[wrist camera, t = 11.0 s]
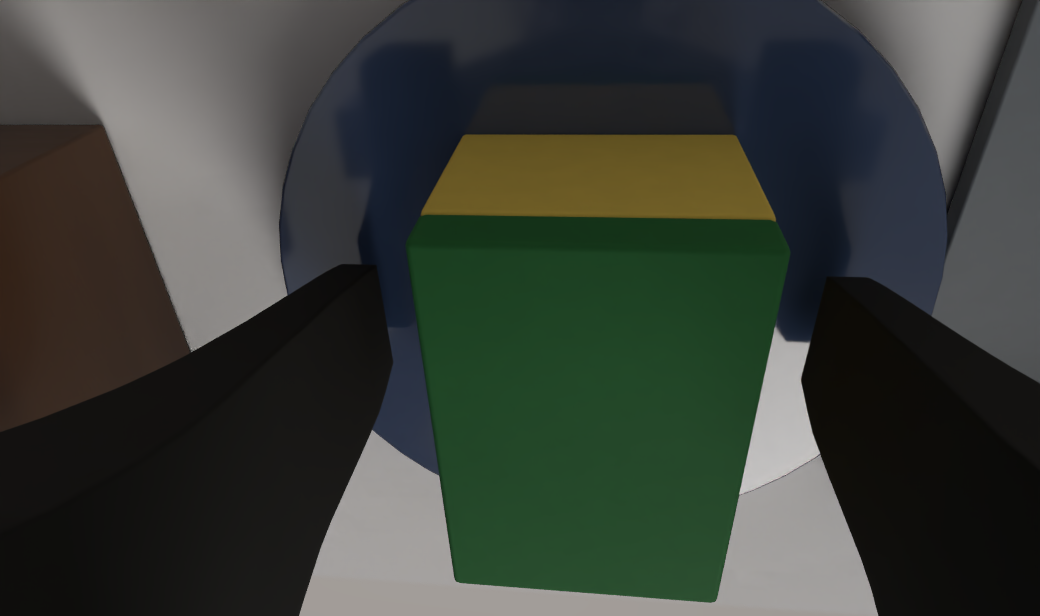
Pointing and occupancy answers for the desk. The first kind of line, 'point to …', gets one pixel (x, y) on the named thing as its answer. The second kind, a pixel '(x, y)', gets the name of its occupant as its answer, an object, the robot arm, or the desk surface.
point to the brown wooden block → (73, 275)
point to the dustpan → (1000, 214)
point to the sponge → (595, 355)
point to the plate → (624, 111)
